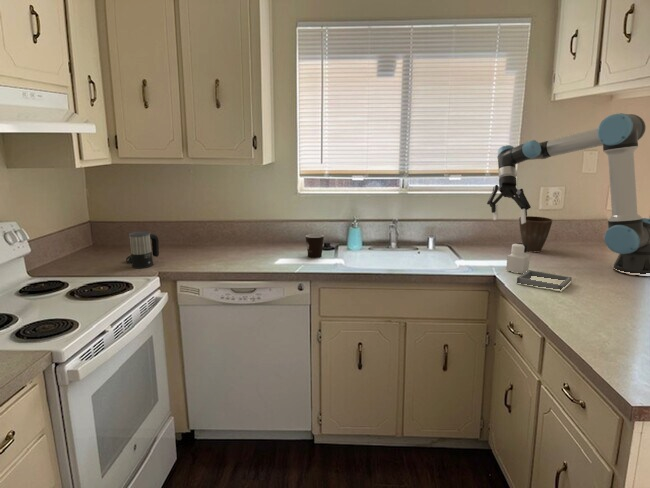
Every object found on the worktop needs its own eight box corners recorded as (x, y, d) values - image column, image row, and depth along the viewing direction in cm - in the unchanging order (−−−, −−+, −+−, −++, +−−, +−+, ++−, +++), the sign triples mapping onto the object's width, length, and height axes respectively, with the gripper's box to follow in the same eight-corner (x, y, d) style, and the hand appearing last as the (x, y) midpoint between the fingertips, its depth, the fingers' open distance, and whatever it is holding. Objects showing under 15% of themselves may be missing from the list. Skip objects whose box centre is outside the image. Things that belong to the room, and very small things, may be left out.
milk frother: (146, 269, 211) (143, 235, 208) (113, 267, 214) (110, 234, 211) (163, 261, 225) (160, 229, 221) (132, 259, 228) (129, 228, 224)
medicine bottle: (511, 268, 211) (513, 241, 208) (528, 270, 206) (531, 243, 204) (505, 271, 205) (508, 243, 203) (523, 274, 201) (525, 246, 198)
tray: (571, 283, 189) (571, 277, 188) (560, 292, 179) (561, 285, 178) (528, 275, 199) (529, 270, 198) (516, 283, 189) (517, 277, 188)
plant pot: (543, 247, 248) (546, 216, 244) (553, 254, 233) (557, 221, 230) (513, 246, 249) (515, 216, 246) (521, 253, 235) (524, 221, 231)
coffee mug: (323, 258, 228) (323, 237, 225) (305, 258, 228) (304, 237, 226) (324, 252, 239) (324, 232, 237) (306, 252, 239) (306, 232, 237)
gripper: (527, 185, 231) (530, 227, 224) (478, 177, 226) (479, 220, 220) (536, 178, 223) (540, 221, 217) (486, 171, 219) (488, 214, 213)
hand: (509, 221), depth 219 cm, fingers open, 13 cm apart
